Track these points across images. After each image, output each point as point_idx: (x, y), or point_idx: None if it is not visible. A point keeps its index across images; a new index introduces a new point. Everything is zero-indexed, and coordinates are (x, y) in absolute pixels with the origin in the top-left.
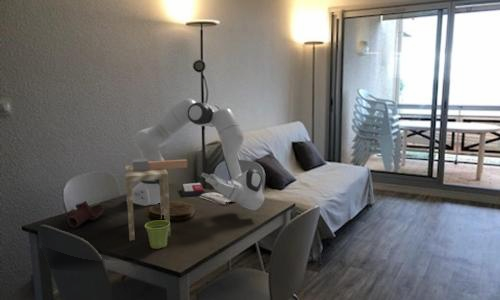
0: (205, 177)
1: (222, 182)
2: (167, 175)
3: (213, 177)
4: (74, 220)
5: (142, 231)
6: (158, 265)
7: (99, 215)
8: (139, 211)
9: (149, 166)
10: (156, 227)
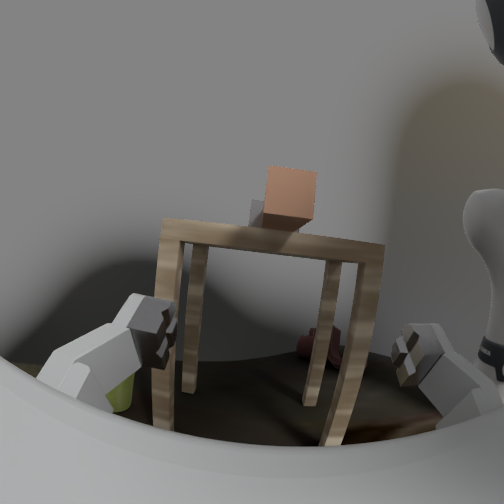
0: (428, 388)
1: (20, 478)
2: (163, 225)
3: (412, 438)
4: None
5: (236, 411)
6: (36, 364)
7: (339, 364)
8: (402, 409)
9: (261, 221)
10: (133, 373)
